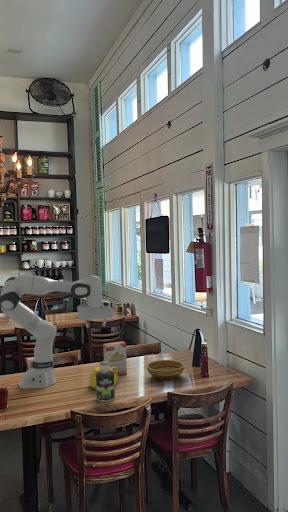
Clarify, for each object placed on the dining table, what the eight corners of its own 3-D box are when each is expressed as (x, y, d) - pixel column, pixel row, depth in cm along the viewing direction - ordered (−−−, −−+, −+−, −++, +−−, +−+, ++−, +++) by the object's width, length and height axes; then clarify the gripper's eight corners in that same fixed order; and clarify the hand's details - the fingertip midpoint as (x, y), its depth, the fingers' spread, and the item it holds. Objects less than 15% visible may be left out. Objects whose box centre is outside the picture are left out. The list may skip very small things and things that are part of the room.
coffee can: (116, 400, 236) (115, 375, 236) (97, 402, 235) (96, 376, 234) (114, 394, 246) (113, 369, 246) (95, 395, 245) (95, 371, 244)
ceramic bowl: (194, 381, 264) (194, 368, 264) (158, 387, 255) (157, 374, 255) (172, 368, 292) (172, 356, 291) (139, 374, 282) (138, 361, 282)
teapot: (85, 384, 264) (84, 364, 264) (113, 378, 274) (112, 358, 273) (98, 394, 247) (98, 372, 247) (128, 387, 257) (127, 366, 256)
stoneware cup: (100, 375, 237) (100, 364, 236) (99, 372, 242) (98, 361, 242) (110, 374, 238) (110, 363, 238) (108, 371, 243) (108, 360, 243)
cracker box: (107, 378, 276) (105, 345, 275) (103, 375, 281) (102, 343, 280) (127, 374, 282) (126, 342, 281) (123, 372, 287) (122, 340, 286)
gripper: (77, 305, 247) (78, 329, 247) (113, 302, 252) (113, 326, 253) (76, 303, 253) (77, 327, 254) (111, 301, 258) (112, 324, 259)
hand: (95, 326), depth 253 cm, fingers open, 8 cm apart
